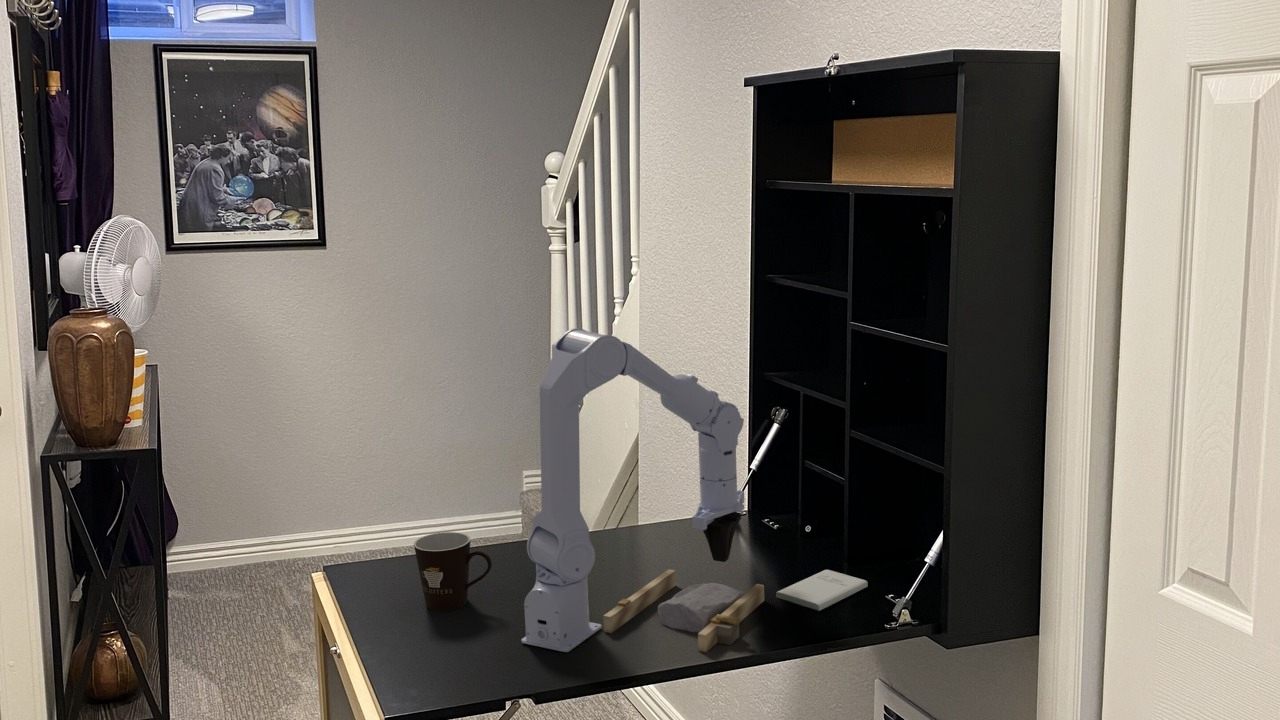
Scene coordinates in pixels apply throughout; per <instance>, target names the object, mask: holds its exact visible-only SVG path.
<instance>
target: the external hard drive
mask: <svg viewBox="0 0 1280 720" xmlns="http://www.w3.org/2000/svg"><path fill="white" fill-rule="evenodd" d="M868 584H869V583H868V581H867V580H865V579H862V578H858V577H856V576H855V577H854V576H851V575H848V574H845V573H840V572H838V571H834V570H830V569H824V570H822V571H820V572H818V573H815V574H813V575H811V576H809V577H807V578H804V579H802V580H800V581H797V582H795V583H794V584H791V585H789V586H787V587H784V588H782V589H780V590H778V591H776V594H775V597H776V598H778V599H781V600H784V601H787V602H791V603H793V604H796V605H800V606H802V607H807V608H809V609H812V610H815V611H818V612H820V611H822V610H824V609H826V608H829V607H830V606H832V605H833V604H836V603H838V602H840V601H842V600H843V599H847V598H848V597H850V596H851V595H854V594H856V593H857V592H860V591H862V590H864V589H866V588H868Z"/></svg>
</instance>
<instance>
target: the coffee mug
mask: <svg viewBox="0 0 1280 720" xmlns="http://www.w3.org/2000/svg"><path fill="white" fill-rule="evenodd" d="M413 548H414V553H415V558H416V563H417V567H418V572H419V577H420V582H421V587H422V592H423V596H424V602H425V606H426V608H427V609H429V610H432V611H441V612H444V611H445V612H446V611H452V610H456V609H459V608H461V607H463V606H464V605H466V604H467V603H468V595H469V593H468V591H469V588H470V587H471V586H473V585H475V584H477V583H478V582H479V581H481V580H483V579H484V578H485V577H486V576H487V575H488V574H489V573H490V571H491V569H492V566H493V565H492V559H491V557H490V556H489V555H488V554H487V552H483V551H481V550H475V551H472V552H471V537H470V536H469V535H468V534H466V533H463V532H456V531H455V532H454V531H446V532H445V531H444V532H442V531H441V532H435V533H430V534H427V535H424V536H420V537H419V538H417V539H416V540H415V541H414V542H413ZM475 556H481V557H483V558H484V559H485V560H486V563H487V568H486V570H485V571H484V572H483V574H482V575H480V576H478V577H477V578H475V579H474V580H472V581H470V582H469V576H470V575H469V574H470V573H469V571H470V561H471V559H472V558H473V557H475Z"/></svg>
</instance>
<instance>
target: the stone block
mask: <svg viewBox="0 0 1280 720" xmlns="http://www.w3.org/2000/svg"><path fill="white" fill-rule="evenodd" d="M744 594H745V592H744V591H743V590H739V589H736V588H734V587H731V586H728V585H726V584H721V583H716V582H710V583H697V584H693V585H689V586H688V587H686V588H685V589H681V590H680V591H678V592H677V593H676V594H674V595H673V596H672V597H671V598H670V599H668V600H666V601H664V602H661V603H659V604H658V606H657V616H658V619H659V622H660V624H662V625H663V626H666V627H668V628H671V629H678V630H681V631H682V630H683V631H688V632H689V633H697V634H698V633H699V632H701V631H702V630H703V629H704V628H705V627H706V626H708V625H709V624H710V623H711V619H712V618H714V617H715V616H717V614H720V615H721V614H722V613H723V612H724V611H725V610H726V609H728V608H729V607H730V606H731V605H732V604H734V603H735V602H736V601H737V600H738V599H739V598H741V597H742V596H743V595H744Z"/></svg>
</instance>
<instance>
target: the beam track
mask: <svg viewBox="0 0 1280 720" xmlns="http://www.w3.org/2000/svg"><path fill="white" fill-rule="evenodd" d="M676 582H677V579H676V570H674V569H667V570H665V571H664V572H662V573H661V574H660V575H658V576H657V577H655V578H654V579H653V580H651V581H649V583H647V584H646V585H644V586H643V587H642V588H640V589H639V590H637V591H636V592H635V593H633V594H632V595H631V596H629V597H628V598H622V599H621V600H619V601H618V602H617V605H616V606H615V607H613V608H611V610H609V611H608V612H606V613H604V615H603V631H604V633H608V634H613V633H614V632H615V631H616V630H618V629H619V628H620V627H622V626H623V625H624V624H626V623H627V622H629V621H630V620H631V619H633V618H634V617H636V616H637V615H639V613H641V612H642V611H644V610H645V609H646V608H647V607H648V606H650V605H652V604H654V603H655V602H656V601H657V600H659V599H660V598H661V597H662V596H664V595H665V594H666V593H668V592H669V591H670V590H671V589H673V588H675V587H676V585H677V583H676ZM764 602H765V585H764V584H760V583H756V584H754V586H752V587H751V588H750V589H749V590H747V592H744V595H743V596H742V597H741V598H739V599H738V600H737V601H736V602H735V603H734V604H732V605H731V606H730V607H729V608H728V609H726V610H725V611H724V612H723V613H722V614H721V615H720V614H717V616H715V617H714V618H712V619H711V623H710V624H709V625H708V626H706V627H705V628H704V629H703V630H702V631H701V632H699V633H697V644H698V645H697V649H698V651H699V652H701V653H702V652H703V653H708V652H709V650H711V649H712V648H713V647H714V646H715V645H716V644H722V645H729V646H730V645H732V644H733V643H734V642H735V641H736V640H737V639H739V637H740V623H741V622H742V621H743V620H744V619H745V618H746V617H748V616H749V614H751V613H752V612H753V611H754V610H756V609H757V608H758V607H759V606H760V605H761V604H762V603H764Z"/></svg>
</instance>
